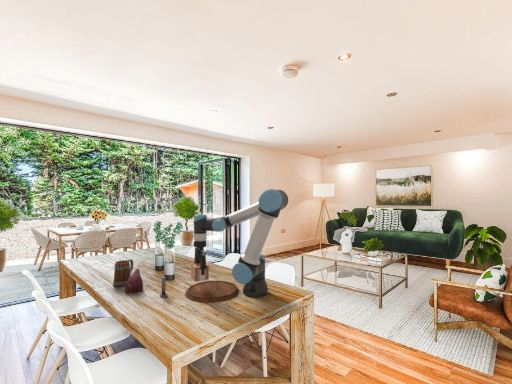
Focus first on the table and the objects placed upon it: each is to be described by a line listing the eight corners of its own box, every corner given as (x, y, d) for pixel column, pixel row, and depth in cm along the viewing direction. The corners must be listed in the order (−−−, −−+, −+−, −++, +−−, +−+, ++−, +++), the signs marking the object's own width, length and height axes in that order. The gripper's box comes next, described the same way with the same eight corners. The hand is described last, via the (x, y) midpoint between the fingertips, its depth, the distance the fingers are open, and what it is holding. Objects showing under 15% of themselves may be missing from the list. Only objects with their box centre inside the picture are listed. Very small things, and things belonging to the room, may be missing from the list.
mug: (123, 287, 170) (123, 264, 170) (109, 286, 172) (109, 263, 172) (139, 280, 185) (139, 258, 185) (125, 279, 187) (125, 257, 187)
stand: (167, 296, 155) (167, 277, 155) (160, 297, 153) (160, 278, 153) (166, 294, 158) (166, 275, 158) (159, 295, 156) (159, 276, 156)
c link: (204, 275, 166) (204, 262, 166) (208, 279, 159) (208, 265, 159) (191, 277, 162) (191, 264, 162) (195, 281, 155) (195, 267, 155)
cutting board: (230, 281, 182) (230, 277, 182) (246, 298, 153) (246, 293, 153) (182, 287, 171) (182, 283, 171) (188, 307, 141) (188, 302, 141)
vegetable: (137, 292, 170) (141, 268, 175) (145, 293, 164) (149, 268, 168) (121, 292, 163) (125, 267, 167) (128, 294, 156) (133, 267, 161)
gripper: (189, 238, 168) (188, 274, 167) (199, 243, 149) (199, 284, 149) (200, 237, 171) (200, 272, 171) (212, 242, 153) (212, 282, 153)
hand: (200, 278), depth 160 cm, fingers closed on c link, 8 cm apart
